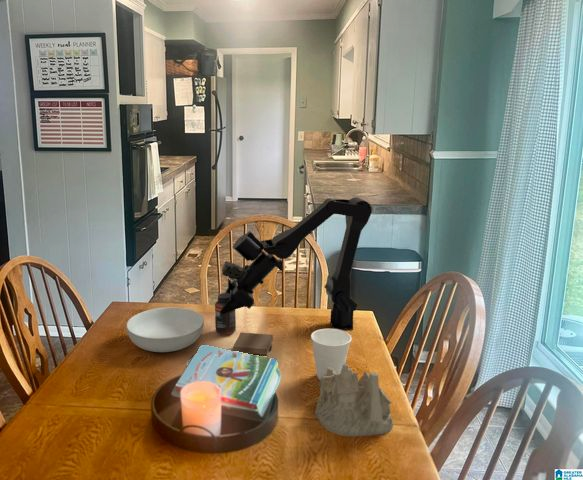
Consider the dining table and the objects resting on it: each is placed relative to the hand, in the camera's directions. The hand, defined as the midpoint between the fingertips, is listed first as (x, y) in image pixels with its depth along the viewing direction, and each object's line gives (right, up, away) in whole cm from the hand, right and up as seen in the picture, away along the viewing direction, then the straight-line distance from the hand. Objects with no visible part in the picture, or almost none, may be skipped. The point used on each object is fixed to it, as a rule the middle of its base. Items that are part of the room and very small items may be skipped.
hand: (220, 308), depth 151 cm
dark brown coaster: (+10, -11, -11) cm, 18 cm away
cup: (+30, -14, -22) cm, 40 cm away
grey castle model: (+34, -18, -37) cm, 54 cm away
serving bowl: (-14, -9, -6) cm, 18 cm away
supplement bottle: (+1, -7, +2) cm, 7 cm away
